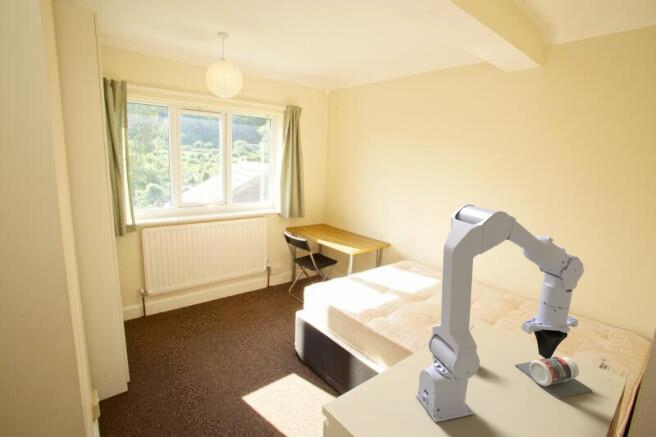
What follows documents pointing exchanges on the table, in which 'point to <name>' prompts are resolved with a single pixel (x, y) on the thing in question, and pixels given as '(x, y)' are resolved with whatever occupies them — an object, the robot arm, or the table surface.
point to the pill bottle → (553, 370)
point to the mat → (558, 389)
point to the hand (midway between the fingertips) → (544, 356)
